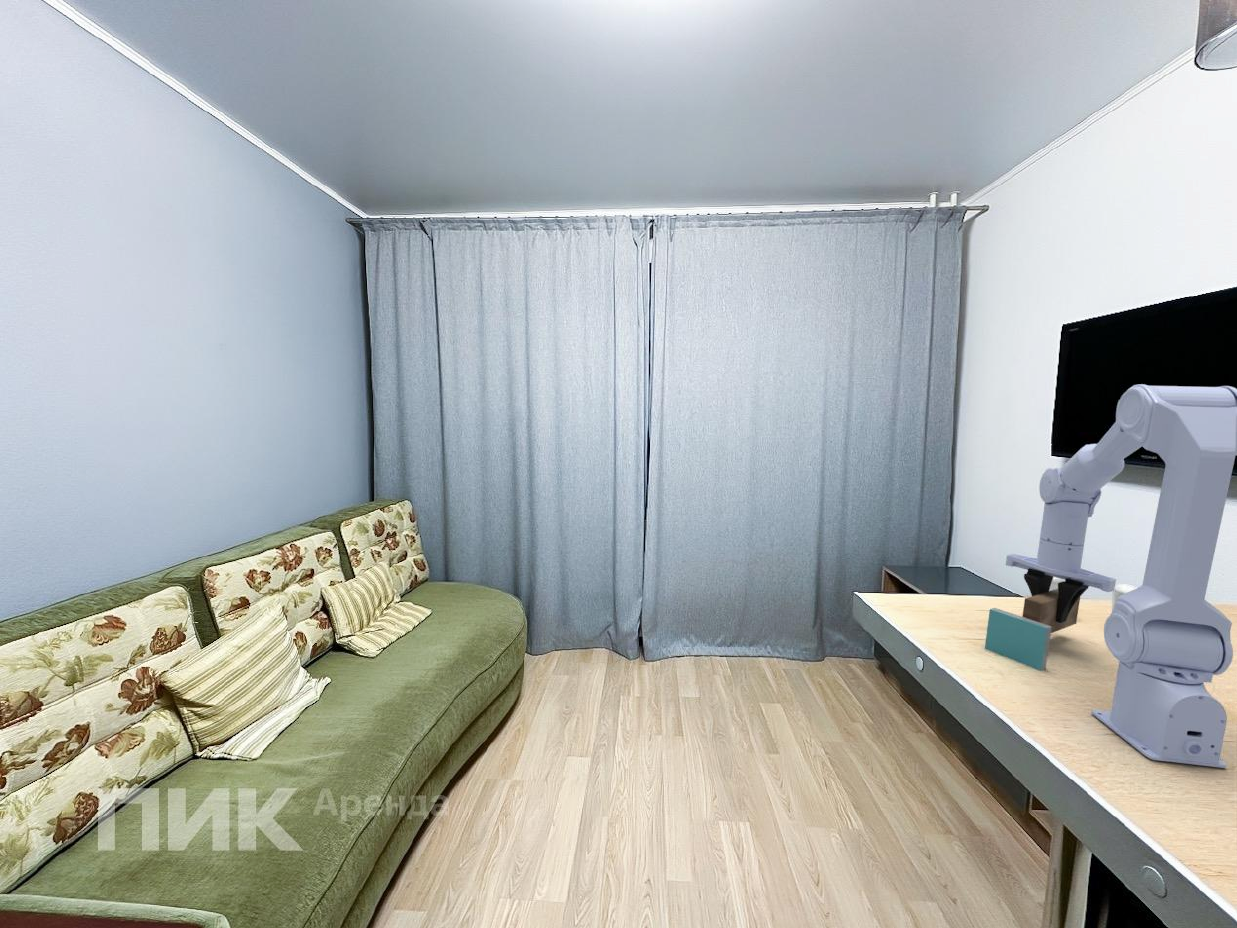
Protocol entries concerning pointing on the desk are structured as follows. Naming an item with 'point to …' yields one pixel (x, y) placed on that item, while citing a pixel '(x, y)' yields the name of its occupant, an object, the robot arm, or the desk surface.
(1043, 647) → the tile
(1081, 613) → the desk surface
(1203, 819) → the desk surface
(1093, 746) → the desk surface
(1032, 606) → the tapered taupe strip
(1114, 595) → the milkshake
